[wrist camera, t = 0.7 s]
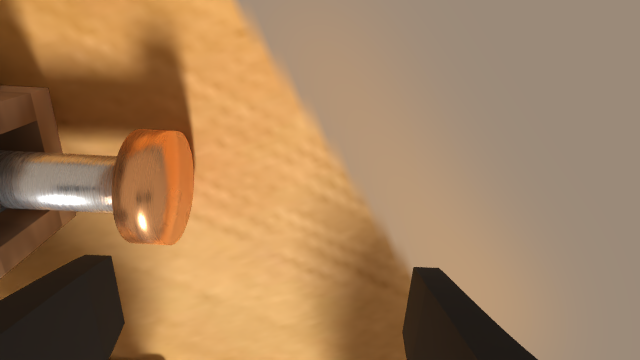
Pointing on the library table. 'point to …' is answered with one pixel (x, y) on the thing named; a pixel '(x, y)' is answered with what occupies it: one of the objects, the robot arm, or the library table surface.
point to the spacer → (28, 136)
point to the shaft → (110, 184)
